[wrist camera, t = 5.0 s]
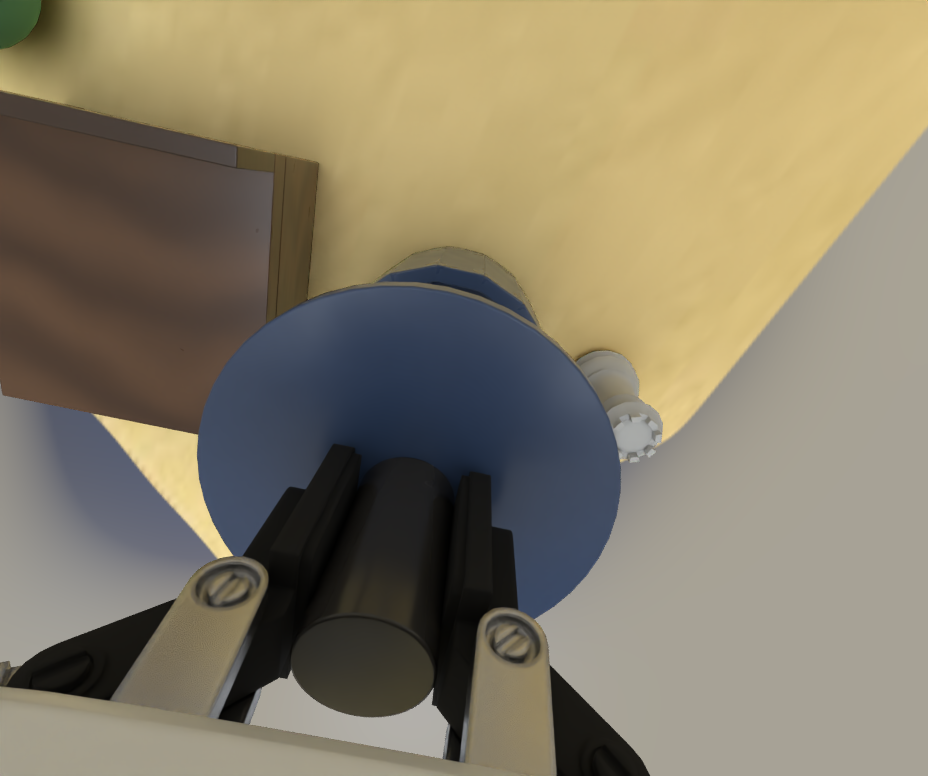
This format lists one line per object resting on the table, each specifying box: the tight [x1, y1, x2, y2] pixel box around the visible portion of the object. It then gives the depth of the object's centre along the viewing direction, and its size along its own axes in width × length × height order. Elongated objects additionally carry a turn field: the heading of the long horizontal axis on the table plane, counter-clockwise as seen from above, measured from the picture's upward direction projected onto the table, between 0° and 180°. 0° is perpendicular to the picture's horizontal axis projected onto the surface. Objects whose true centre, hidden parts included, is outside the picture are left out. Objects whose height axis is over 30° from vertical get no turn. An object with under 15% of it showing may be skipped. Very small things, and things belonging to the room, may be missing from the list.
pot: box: [373, 247, 542, 330], centre depth 26 cm, size 10×10×8 cm
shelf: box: [0, 90, 319, 434], centre depth 24 cm, size 15×14×10 cm
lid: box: [197, 282, 621, 717], centre depth 11 cm, size 11×11×6 cm
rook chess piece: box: [576, 350, 663, 462], centre depth 27 cm, size 4×4×8 cm
